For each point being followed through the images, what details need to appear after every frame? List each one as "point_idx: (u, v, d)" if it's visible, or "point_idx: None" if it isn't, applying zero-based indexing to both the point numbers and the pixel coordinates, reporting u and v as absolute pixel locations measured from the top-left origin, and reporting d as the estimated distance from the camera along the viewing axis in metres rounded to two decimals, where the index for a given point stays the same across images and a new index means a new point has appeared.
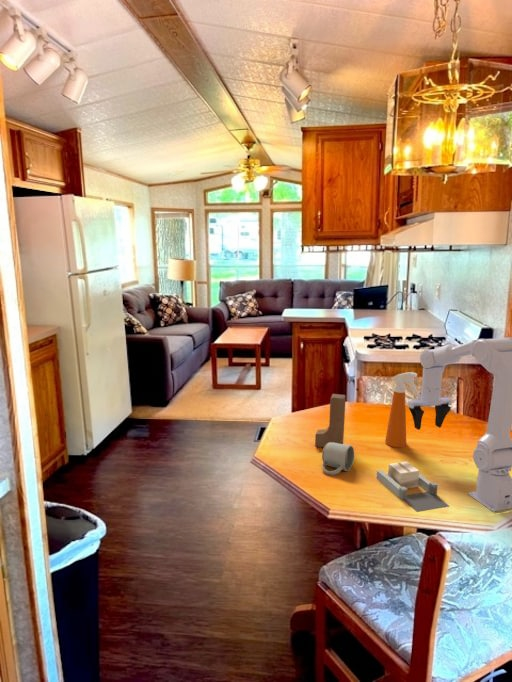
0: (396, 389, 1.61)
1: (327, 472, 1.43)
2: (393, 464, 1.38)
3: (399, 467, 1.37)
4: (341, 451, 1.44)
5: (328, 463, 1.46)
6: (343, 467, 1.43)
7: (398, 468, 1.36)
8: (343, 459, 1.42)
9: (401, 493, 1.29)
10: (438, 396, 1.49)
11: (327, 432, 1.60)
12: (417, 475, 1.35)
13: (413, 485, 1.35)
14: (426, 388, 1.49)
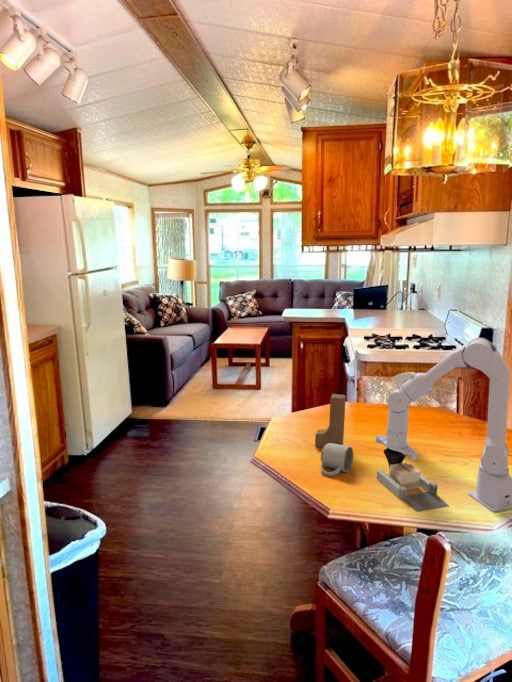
0: None
1: (326, 473, 1.42)
2: (394, 465, 1.38)
3: (400, 467, 1.36)
4: (340, 452, 1.43)
5: (327, 464, 1.45)
6: (342, 468, 1.42)
7: (399, 469, 1.35)
8: (342, 460, 1.42)
9: (401, 493, 1.29)
10: (392, 440, 1.37)
11: (327, 432, 1.60)
12: (418, 476, 1.34)
13: (414, 486, 1.35)
14: None
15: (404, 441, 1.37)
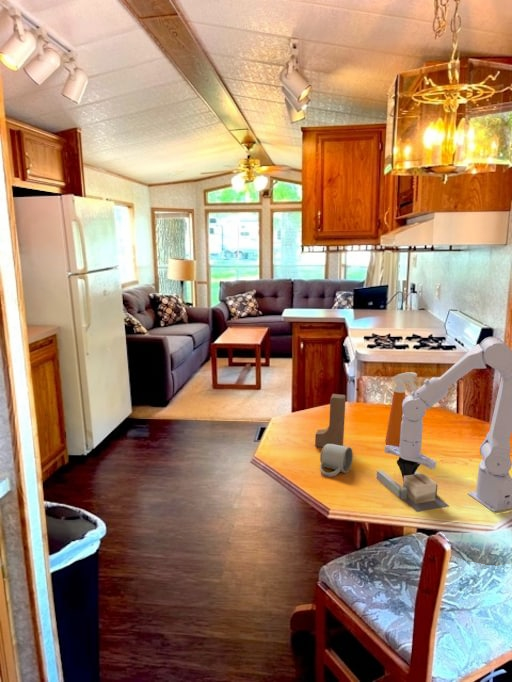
0: (396, 389, 1.61)
1: (325, 474, 1.42)
2: (408, 476, 1.31)
3: (414, 479, 1.30)
4: (339, 453, 1.43)
5: (326, 465, 1.45)
6: (341, 469, 1.42)
7: (413, 481, 1.29)
8: (341, 461, 1.41)
9: (401, 493, 1.29)
10: (408, 450, 1.31)
11: (327, 432, 1.60)
12: (434, 488, 1.28)
13: (430, 498, 1.28)
14: (400, 437, 1.34)
15: (419, 450, 1.31)
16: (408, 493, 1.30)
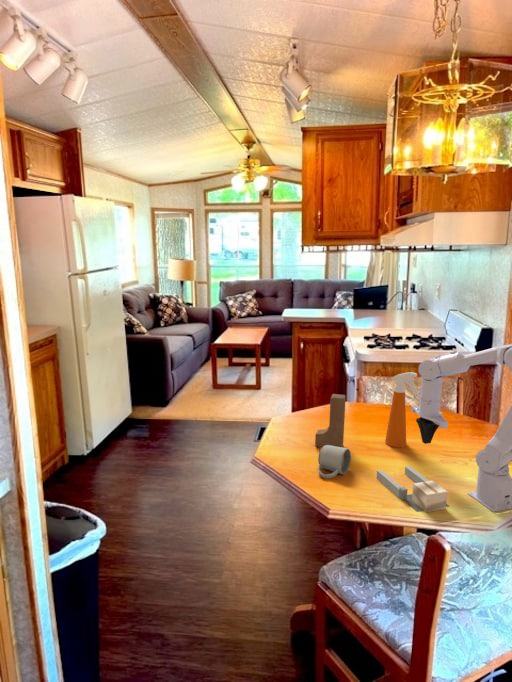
0: (396, 389, 1.61)
1: (323, 475, 1.41)
2: (418, 484, 1.27)
3: (424, 487, 1.26)
4: (337, 454, 1.42)
5: (324, 466, 1.44)
6: (339, 470, 1.41)
7: (424, 488, 1.25)
8: (339, 462, 1.40)
9: (401, 493, 1.29)
10: (423, 408, 1.38)
11: (327, 432, 1.60)
12: (445, 496, 1.24)
13: (440, 507, 1.24)
14: None
15: (436, 410, 1.38)
16: (418, 501, 1.26)
